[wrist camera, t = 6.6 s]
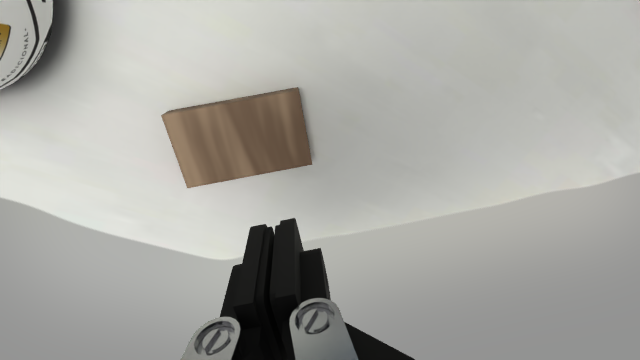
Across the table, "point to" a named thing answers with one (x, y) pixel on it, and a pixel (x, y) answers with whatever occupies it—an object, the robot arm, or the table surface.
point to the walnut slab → (239, 137)
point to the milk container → (22, 36)
